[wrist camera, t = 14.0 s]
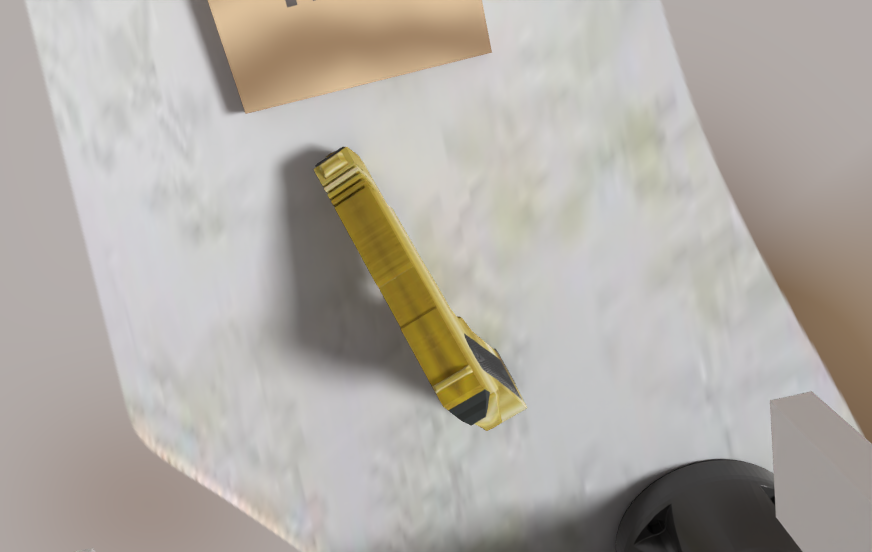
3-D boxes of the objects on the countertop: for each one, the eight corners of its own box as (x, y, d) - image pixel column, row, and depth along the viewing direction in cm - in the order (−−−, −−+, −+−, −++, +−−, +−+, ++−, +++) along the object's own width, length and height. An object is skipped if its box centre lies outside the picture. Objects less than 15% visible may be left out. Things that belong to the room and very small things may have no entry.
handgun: (499, 423, 45) (464, 451, 33) (376, 204, 49) (306, 161, 37) (529, 406, 44) (504, 428, 33) (402, 187, 49) (340, 138, 37)
